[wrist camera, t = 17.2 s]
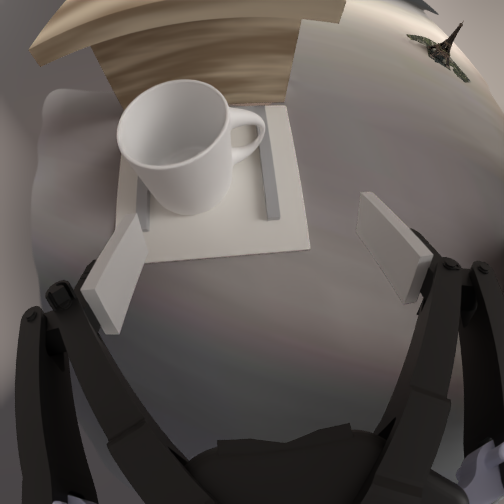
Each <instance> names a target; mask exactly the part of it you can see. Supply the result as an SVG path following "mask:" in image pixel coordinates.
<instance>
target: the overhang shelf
mask: <svg viewBox="0 0 504 504" xmlns="http://www.w3.org/2000/svg"><path fill="white" fill-rule="evenodd" d="M345 4H346V0H66V1H65V3H64V4H63V5H62V6H61V7H60V8H59V10H58V11H57V12H56V13H55V14H54V16H53V17H52V18H51V19H50V21H49V22H48V23H47V25H46V26H45V27H44V29H43V30H42V31H41V33H40V34H39V35H38V37H37V38H36V40H35V41H34V43H33V44H32V46H31V47H30V49H29V51H30V53H31V54H32V56H33V57H34V59H35V60H36V62H37V63H38V64H39V66H40V67H41V66H43V65H45V64H47V63H50V62H52V61H54V60H56V59H58V58H61V57H63V56H65V55H68V54H70V53H73V52H75V51H77V50H80V49H83V48H85V47H88V46H91V48H92V50H93V52H94V54H95V56H96V58H97V60H98V62H99V64H100V66H101V68H102V70H103V72H104V74H105V76H106V77H107V79H108V81H109V83H110V85H111V87H112V89H113V91H114V93H115V95H116V96H117V98H118V100H119V102H120V104H121V106H122V108H123V109H124V111H125V109H126V108H127V107H128V105H129V104H130V103H131V102H132V101H133V100H134V99H135V98H136V97H137V96H139V95H140V94H141V93H143V92H144V91H146V90H148V89H149V88H151V87H153V86H155V85H158V84H161V83H164V82H167V81H172V80H180V79H190V80H197V81H201V82H204V83H207V84H209V85H211V86H213V87H214V88H216V89H217V90H218V91H219V92H220V93H221V94H222V95H223V96H224V98H225V99H226V101H227V103H228V104H240V103H263V102H264V103H265V102H284V101H285V96H286V91H287V86H288V82H289V77H290V72H291V67H292V63H293V58H294V53H295V48H296V44H297V39H298V34H299V29H300V25H301V20H302V19H307V20H316V21H324V22H331V23H338V24H339V22H340V19H341V16H342V13H343V10H344V7H345Z"/></svg>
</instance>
